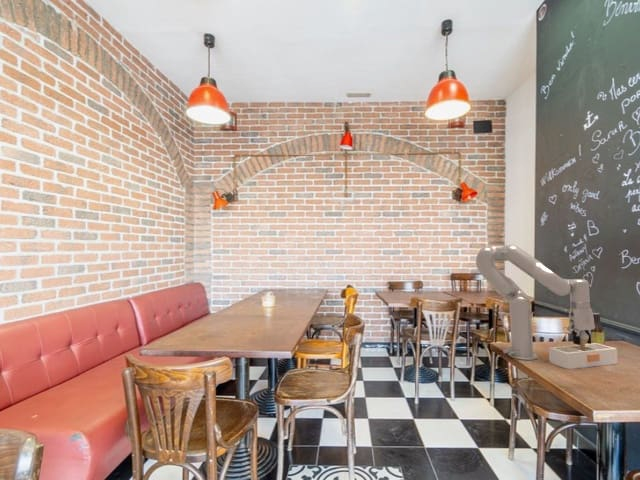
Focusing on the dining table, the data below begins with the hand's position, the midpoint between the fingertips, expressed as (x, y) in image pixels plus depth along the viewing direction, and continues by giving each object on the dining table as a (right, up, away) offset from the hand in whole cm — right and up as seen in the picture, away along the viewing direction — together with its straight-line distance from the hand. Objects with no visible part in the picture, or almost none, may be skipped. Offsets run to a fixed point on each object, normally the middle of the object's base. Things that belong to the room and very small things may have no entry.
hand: (582, 343), depth 164 cm
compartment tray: (0, -9, 0) cm, 9 cm away
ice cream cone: (0, -7, 0) cm, 7 cm away
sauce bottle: (+20, -9, +16) cm, 28 cm away
